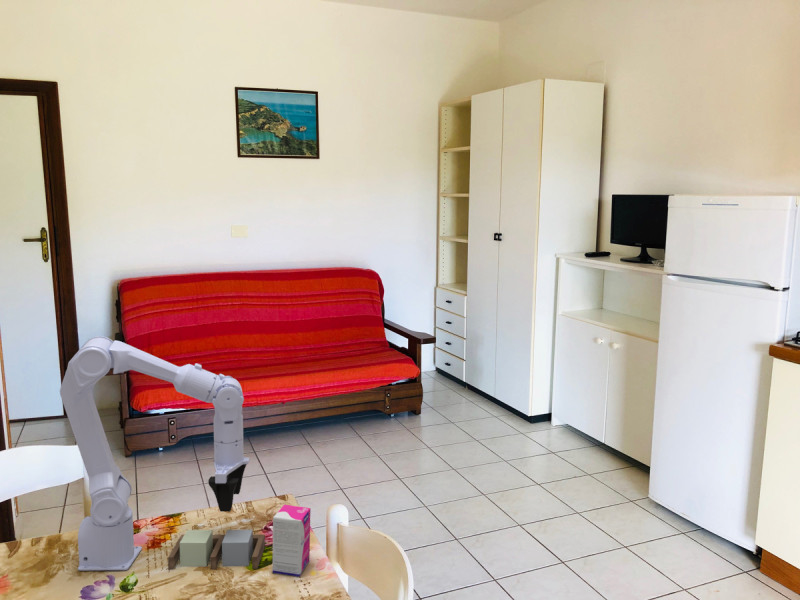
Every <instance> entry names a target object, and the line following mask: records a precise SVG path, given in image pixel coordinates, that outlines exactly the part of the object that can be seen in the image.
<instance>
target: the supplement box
mask: <svg viewBox="0 0 800 600" xmlns="http://www.w3.org/2000/svg"><path fill="white" fill-rule="evenodd" d="M310 543H311V508H310V507H305V506H297V505H290V504H283V505H282V506H281V507H280V509H278V511H277V512H276V514H274V516H273V517H272V567H271V568H272V569H271V570H272V572H271V573H272V574H275V575H284V576H290V577H295V578H298V577H301V575H302V574H303V571H304V570H305V569H306V567H307V565H308V564H309V562H310V554H311V553H310V551H311V550H310V549H311V544H310Z"/></svg>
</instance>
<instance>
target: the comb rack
mask: <svg viewBox="0 0 800 600" xmlns="http://www.w3.org/2000/svg"><path fill="white" fill-rule="evenodd" d="M184 535H185V534H180V535H179V537H178V539H177V541H176V543H175V544H174V546H173V548H172V550H171V551H170V553H169V555H168V557H167V566H168V567H167V569H168V570H175V568H176V566H177V565H178V563H179V562H180V541H181V540H182V538H183V536H184ZM225 535H226V534H213V552H212V554H211V556H210V560H209V562H210V563H209V564H210V566H209V567H210V570H216V569H217V567H218V565H219V562H220V560H221V558H222V542H223V539H224V537H225ZM265 547H266V535H265V534H261V533H259V534H254V533H253V554H252V557H251V561H252V564H251V565H252V566H251V567H252V568H251V569H252V570H258V568H259V565H260V562H261V559H262V556H263V553H264V550H265Z"/></svg>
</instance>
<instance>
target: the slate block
mask: <svg viewBox="0 0 800 600" xmlns="http://www.w3.org/2000/svg"><path fill="white" fill-rule="evenodd" d="M253 532H254V531H253V529H227V530H226V532H225V534H224V535H225V537H224V539H223V542H222V556H221V558H222V559H221V560H222V561H221V562H222V567H249V566H250V563H251V561H252V556H253V553H254V550H253V534H254V533H253Z"/></svg>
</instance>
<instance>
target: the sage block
mask: <svg viewBox="0 0 800 600" xmlns="http://www.w3.org/2000/svg"><path fill="white" fill-rule="evenodd" d="M185 531H186V532H185V533H184V534H183V535H184V536H183V538H182V540H181V541H180V559H179V563H180V565H179V566H180V567H183V568H184V567H187V568H189V567H192V568H193V567H195V568H197V567H198V568H199V567H201V568H202V567H203V568H204V567H208V564H209V562H210V556H211V554H212V552H213V535H214V534H213V533H214V532H213V529H187V530H185Z"/></svg>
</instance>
